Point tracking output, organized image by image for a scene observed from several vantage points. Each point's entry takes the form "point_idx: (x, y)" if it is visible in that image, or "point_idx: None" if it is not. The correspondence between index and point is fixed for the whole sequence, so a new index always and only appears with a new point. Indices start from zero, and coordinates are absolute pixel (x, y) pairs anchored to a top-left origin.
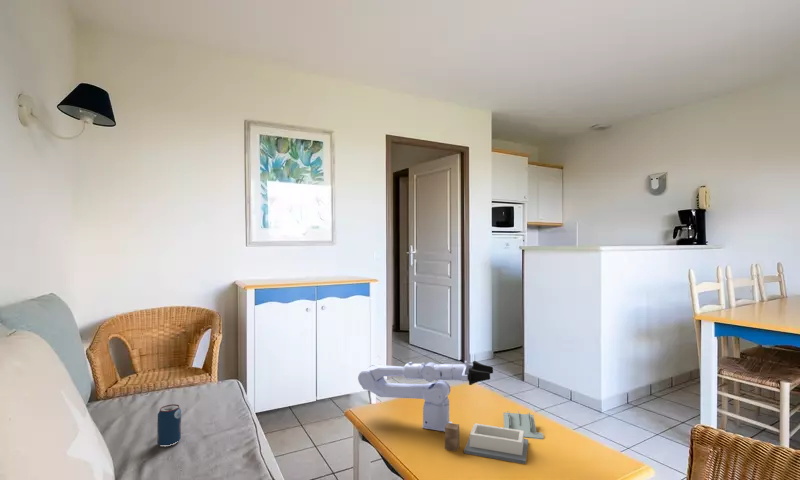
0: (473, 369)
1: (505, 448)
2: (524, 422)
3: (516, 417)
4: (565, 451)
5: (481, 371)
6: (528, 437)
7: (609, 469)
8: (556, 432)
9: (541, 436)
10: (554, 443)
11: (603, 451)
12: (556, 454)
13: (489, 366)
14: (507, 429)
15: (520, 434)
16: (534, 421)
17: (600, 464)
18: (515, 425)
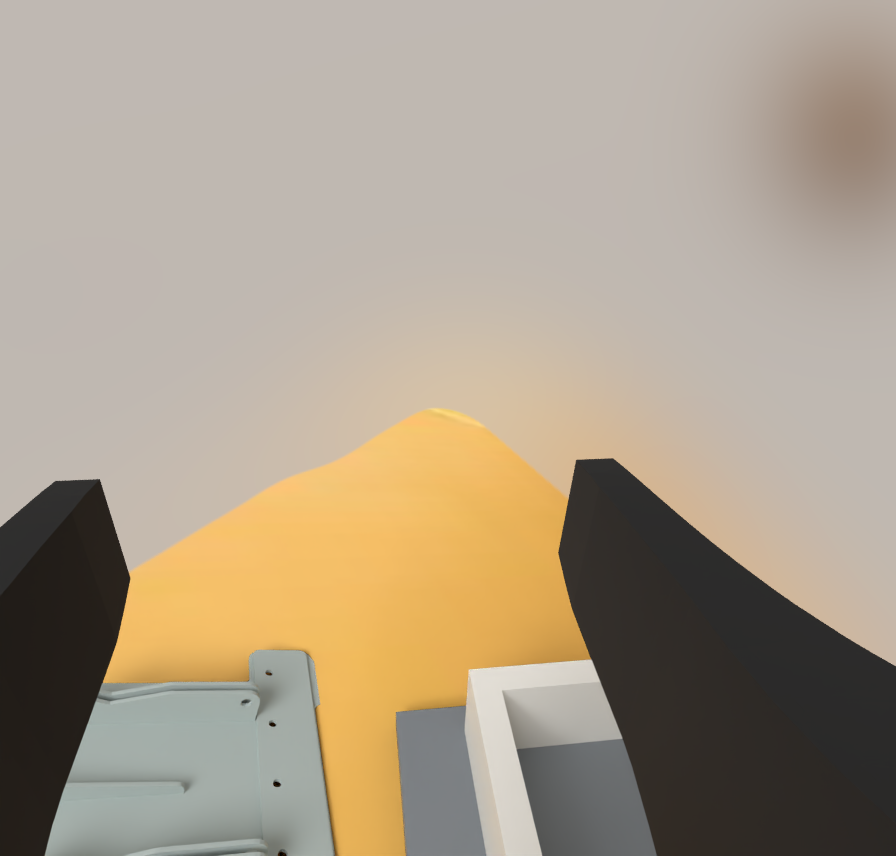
0: (861, 748)
1: None
2: (140, 753)
3: (62, 818)
4: (417, 562)
5: (680, 564)
6: (317, 734)
7: (491, 458)
8: (183, 605)
9: (291, 658)
10: (344, 604)
11: (347, 466)
12: (473, 589)
13: (51, 516)
14: (518, 779)
15: (548, 678)
16: (124, 683)
17: (469, 474)
18: (187, 827)
